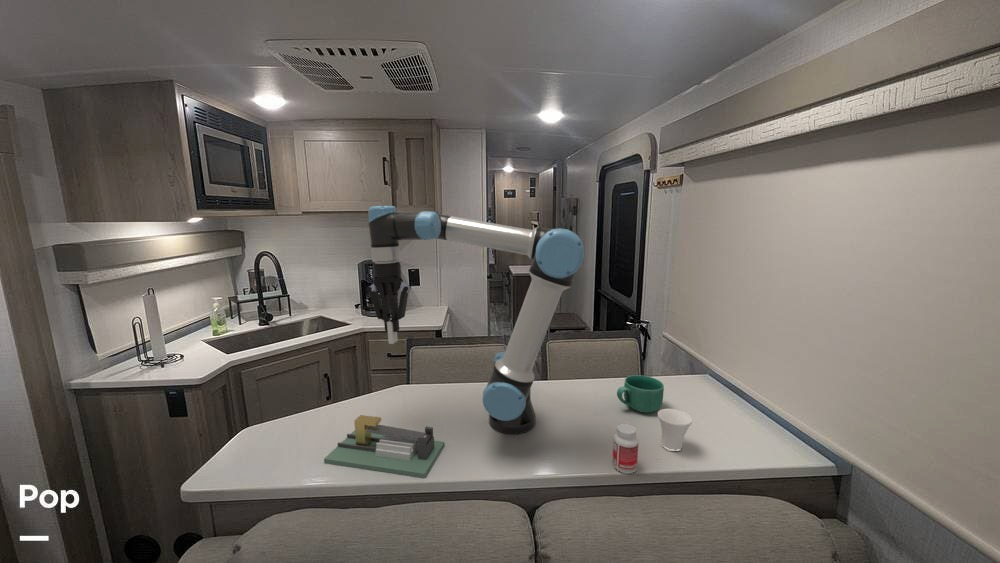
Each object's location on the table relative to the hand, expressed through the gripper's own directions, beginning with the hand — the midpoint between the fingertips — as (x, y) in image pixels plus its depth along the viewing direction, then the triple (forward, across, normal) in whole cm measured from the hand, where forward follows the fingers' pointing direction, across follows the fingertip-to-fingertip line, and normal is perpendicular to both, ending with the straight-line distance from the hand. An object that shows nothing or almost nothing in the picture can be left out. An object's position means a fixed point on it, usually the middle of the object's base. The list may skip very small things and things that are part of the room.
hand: (393, 342), depth 107 cm
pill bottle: (+32, -65, +3) cm, 72 cm away
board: (+30, 0, +9) cm, 31 cm away
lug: (+28, +6, +8) cm, 29 cm away
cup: (+33, -79, -9) cm, 86 cm away
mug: (+33, -74, -30) cm, 86 cm away
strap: (+24, -4, +8) cm, 26 cm away
